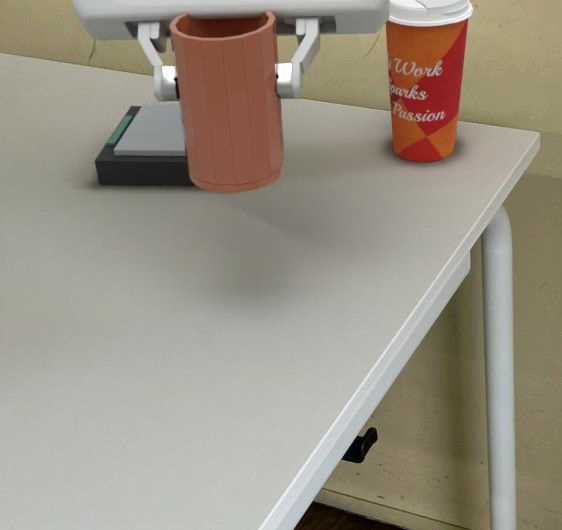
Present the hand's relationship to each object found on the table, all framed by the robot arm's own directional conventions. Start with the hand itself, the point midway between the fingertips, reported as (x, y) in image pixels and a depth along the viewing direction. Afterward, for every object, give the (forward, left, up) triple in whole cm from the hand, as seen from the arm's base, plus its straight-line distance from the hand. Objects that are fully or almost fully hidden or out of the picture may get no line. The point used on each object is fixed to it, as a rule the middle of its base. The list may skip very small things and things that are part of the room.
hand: (228, 97), depth 64 cm
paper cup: (+11, +27, -17) cm, 34 cm away
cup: (0, +1, -5) cm, 5 cm away
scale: (-12, +25, -17) cm, 32 cm away
